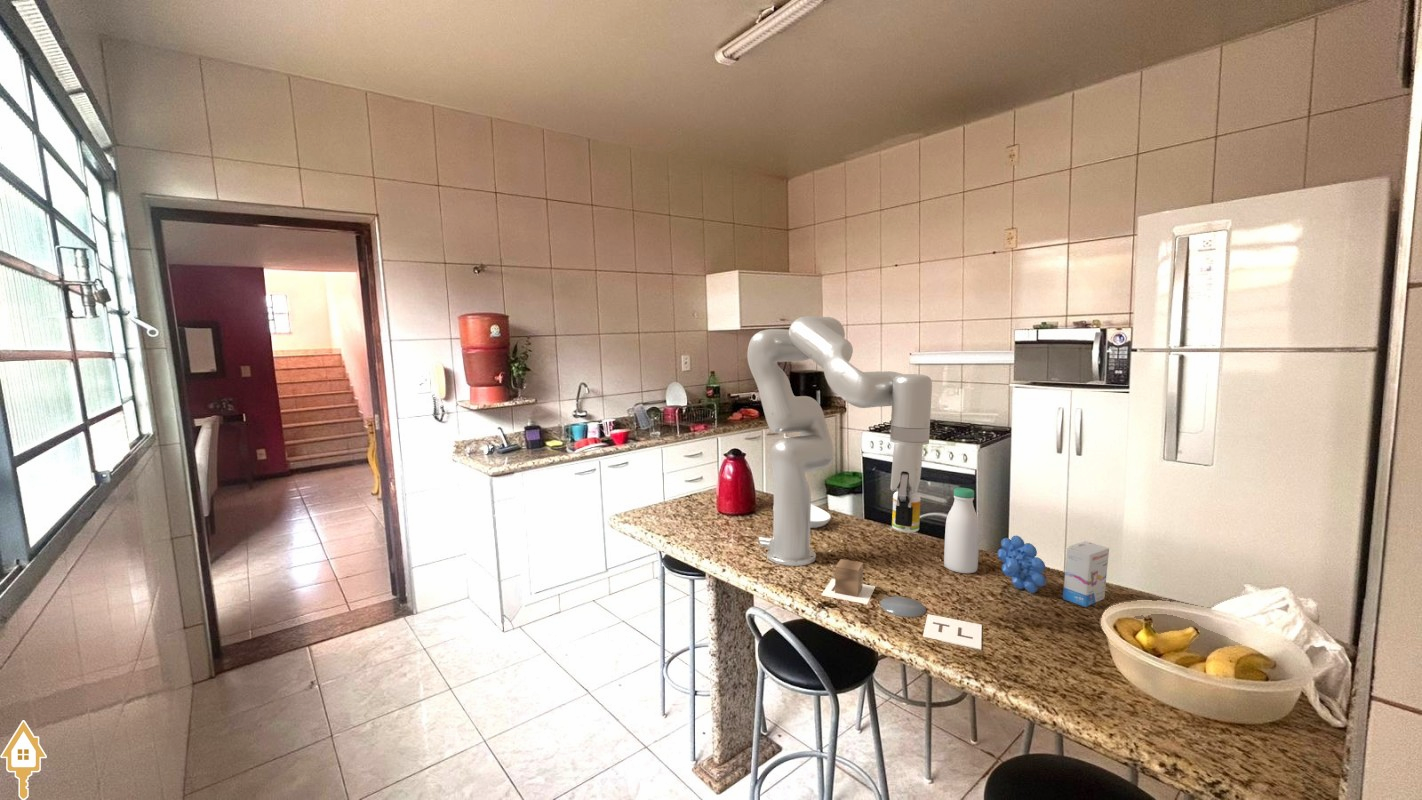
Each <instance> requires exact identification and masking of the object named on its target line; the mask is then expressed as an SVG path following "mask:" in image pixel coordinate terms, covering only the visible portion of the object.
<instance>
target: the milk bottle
mask: <svg viewBox="0 0 1422 800" xmlns="http://www.w3.org/2000/svg"><path fill="white" fill-rule="evenodd" d="M953 498H954V501H953V504H952V505H951V508H950V510H949V512H948V513H947V517H946V521H945V530H944V531H945V533H944V550H943V551H944V552H943V554H944V555H943V565H944V567H945V568H946V569H948V570H949V571H952V572H955V573H958V574H959V573H960V574H972V573H973V574H974V573H976V572H977V571H978V568H979V567H978V566H979V548H980V521H979V520H980V519H979V517H978V514H977V512H976V509H975V507H974V503H973V501H974V499H975V490H974V489H972V488H967V487H956V488H954V489H953Z"/></svg>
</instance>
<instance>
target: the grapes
mask: <svg viewBox="0 0 1422 800" xmlns="http://www.w3.org/2000/svg"><path fill="white" fill-rule="evenodd" d="M1000 546H1001V548H1000V549H998V551H997V552H996V553H997V557H998V559H999V560H1000V561H1001V562H1002V563H1003V564H1002V566H1001V572H1002V573H1003V574H1004V575H1005V577H1007V578H1011V582H1012V584H1013V586H1014V587H1015V588H1016V589H1018V590H1023V589H1025V590H1026V591H1027V593H1028V592H1029V593H1030V594H1036V592H1038V589H1039V588H1040V587H1044V586H1045V585H1046V582H1047V580H1046V576H1045V575H1044V574H1043V572H1044V571H1045V570H1046V564H1045V562H1044V560H1042V559H1041V558H1040V557H1038V556H1037V554H1038V551H1037V548H1036V547H1035V546H1034V545H1033V543H1030V542H1027V543H1025V541H1024V539H1022V537H1021V536H1019V535H1013V536H1011V538H1009V537H1004V538H1002V539H1001V541H1000ZM1038 587H1039V588H1038Z"/></svg>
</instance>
